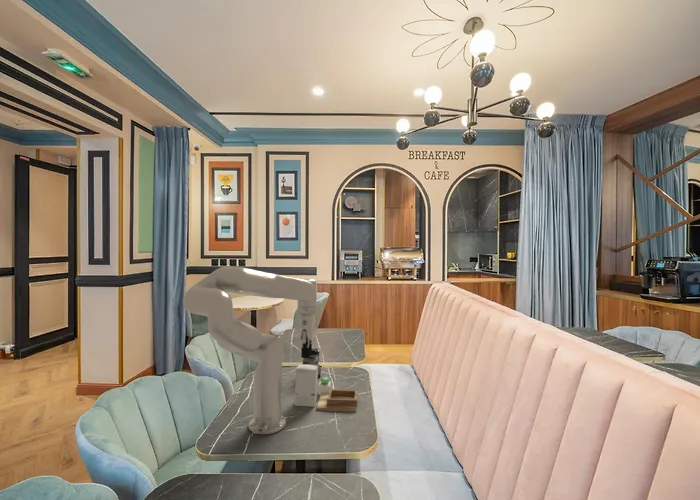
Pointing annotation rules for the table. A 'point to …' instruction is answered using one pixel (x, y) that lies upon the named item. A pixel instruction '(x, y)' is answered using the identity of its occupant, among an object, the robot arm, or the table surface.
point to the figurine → (313, 359)
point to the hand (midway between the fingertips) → (306, 355)
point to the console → (324, 388)
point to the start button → (324, 380)
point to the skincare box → (306, 385)
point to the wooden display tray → (338, 400)
